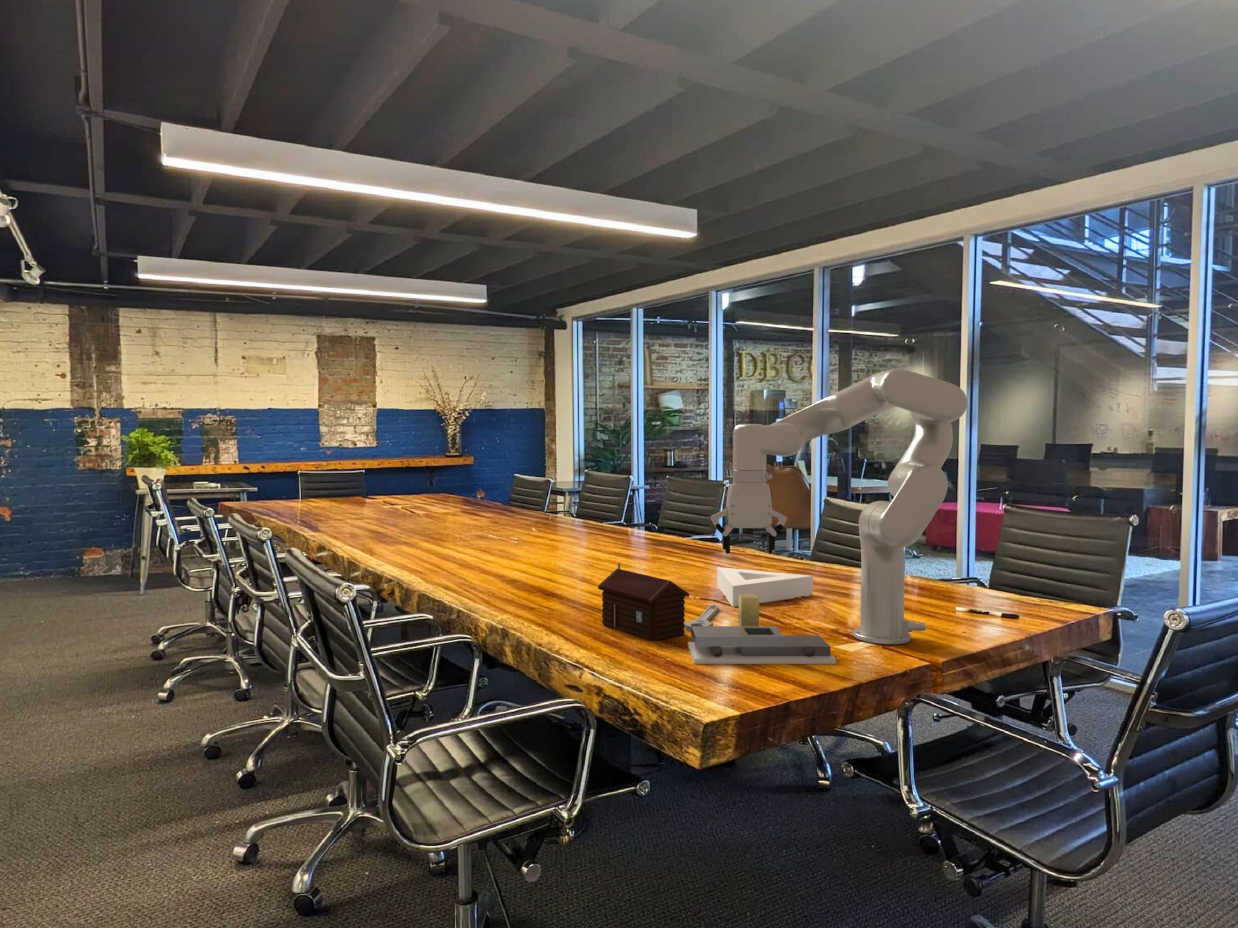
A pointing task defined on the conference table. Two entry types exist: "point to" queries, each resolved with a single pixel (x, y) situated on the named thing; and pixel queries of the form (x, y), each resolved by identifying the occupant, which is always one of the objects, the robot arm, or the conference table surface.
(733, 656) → the board
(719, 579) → the triangle block
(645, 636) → the model building
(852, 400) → the robot arm
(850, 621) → the conference table surface
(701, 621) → the adjustable wrench
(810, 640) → the gray toy truck
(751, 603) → the pin
